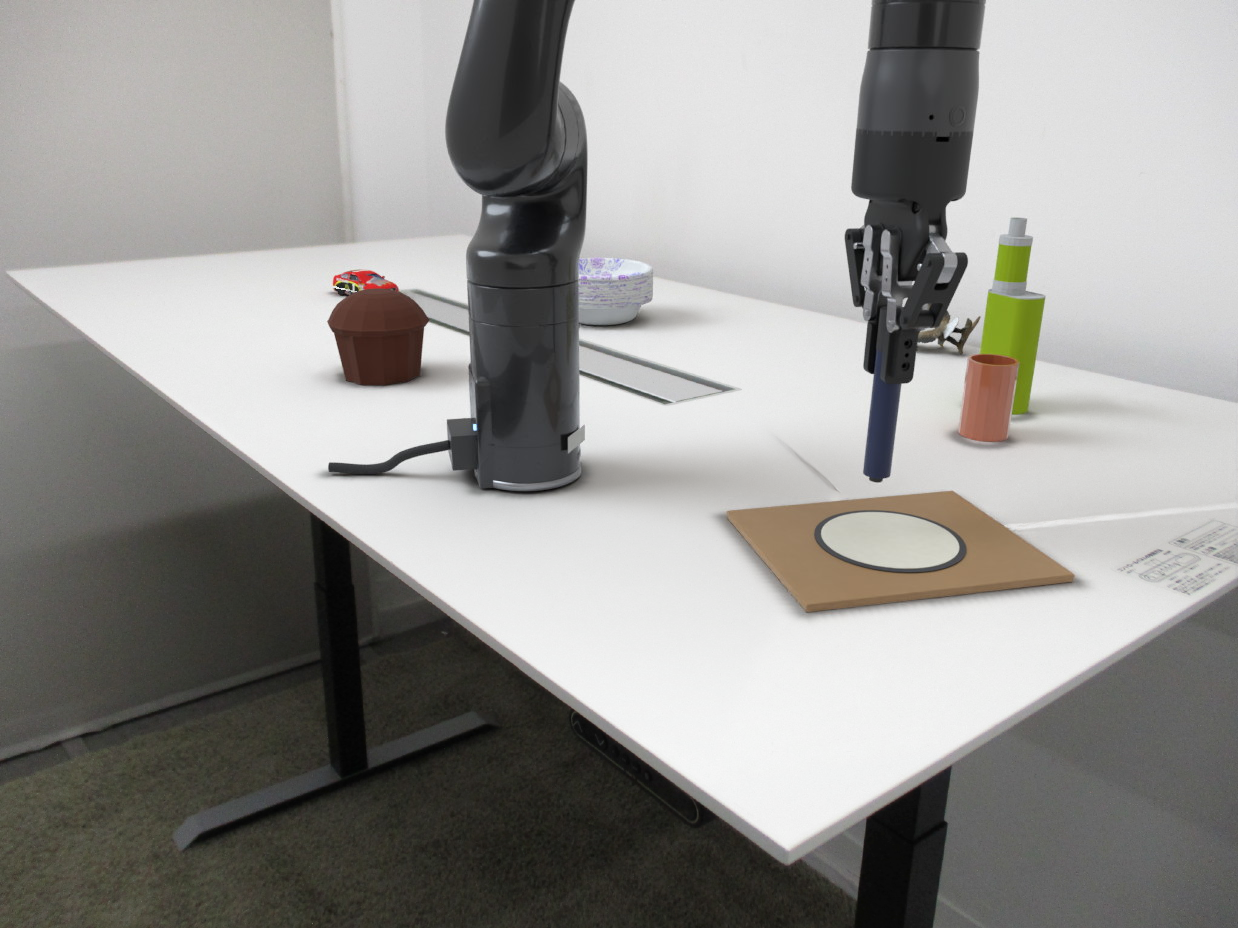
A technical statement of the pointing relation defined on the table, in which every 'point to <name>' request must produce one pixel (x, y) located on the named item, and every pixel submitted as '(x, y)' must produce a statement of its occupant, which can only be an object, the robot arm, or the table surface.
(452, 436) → the robot arm
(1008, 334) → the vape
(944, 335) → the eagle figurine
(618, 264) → the paper bowls
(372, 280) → the race car
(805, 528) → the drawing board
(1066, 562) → the table surface
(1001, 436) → the pen pot
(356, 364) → the muffin
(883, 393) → the marker
